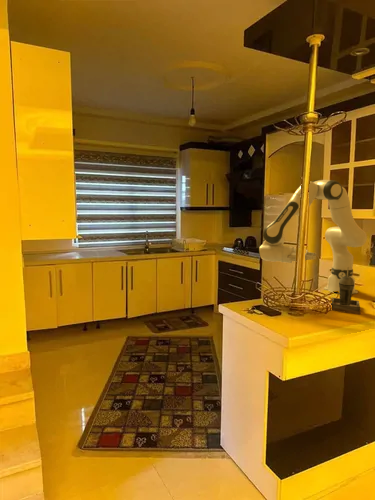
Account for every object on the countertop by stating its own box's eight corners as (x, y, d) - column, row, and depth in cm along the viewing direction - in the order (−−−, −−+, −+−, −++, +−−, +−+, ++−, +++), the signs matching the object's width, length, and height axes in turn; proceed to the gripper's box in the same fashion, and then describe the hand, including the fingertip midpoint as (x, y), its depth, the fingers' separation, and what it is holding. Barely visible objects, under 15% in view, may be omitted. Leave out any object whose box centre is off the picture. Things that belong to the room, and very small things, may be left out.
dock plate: (330, 303, 189) (330, 297, 188) (359, 306, 183) (359, 300, 183) (329, 310, 176) (330, 304, 175) (360, 314, 170) (361, 307, 170)
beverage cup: (336, 306, 178) (339, 267, 175) (337, 303, 184) (340, 265, 181) (351, 309, 174) (355, 269, 172) (353, 305, 181) (356, 267, 178)
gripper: (286, 251, 181) (315, 253, 176) (291, 246, 200) (317, 247, 194) (286, 263, 182) (314, 265, 177) (291, 257, 201) (316, 259, 195)
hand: (316, 256), depth 186 cm, fingers open, 8 cm apart
